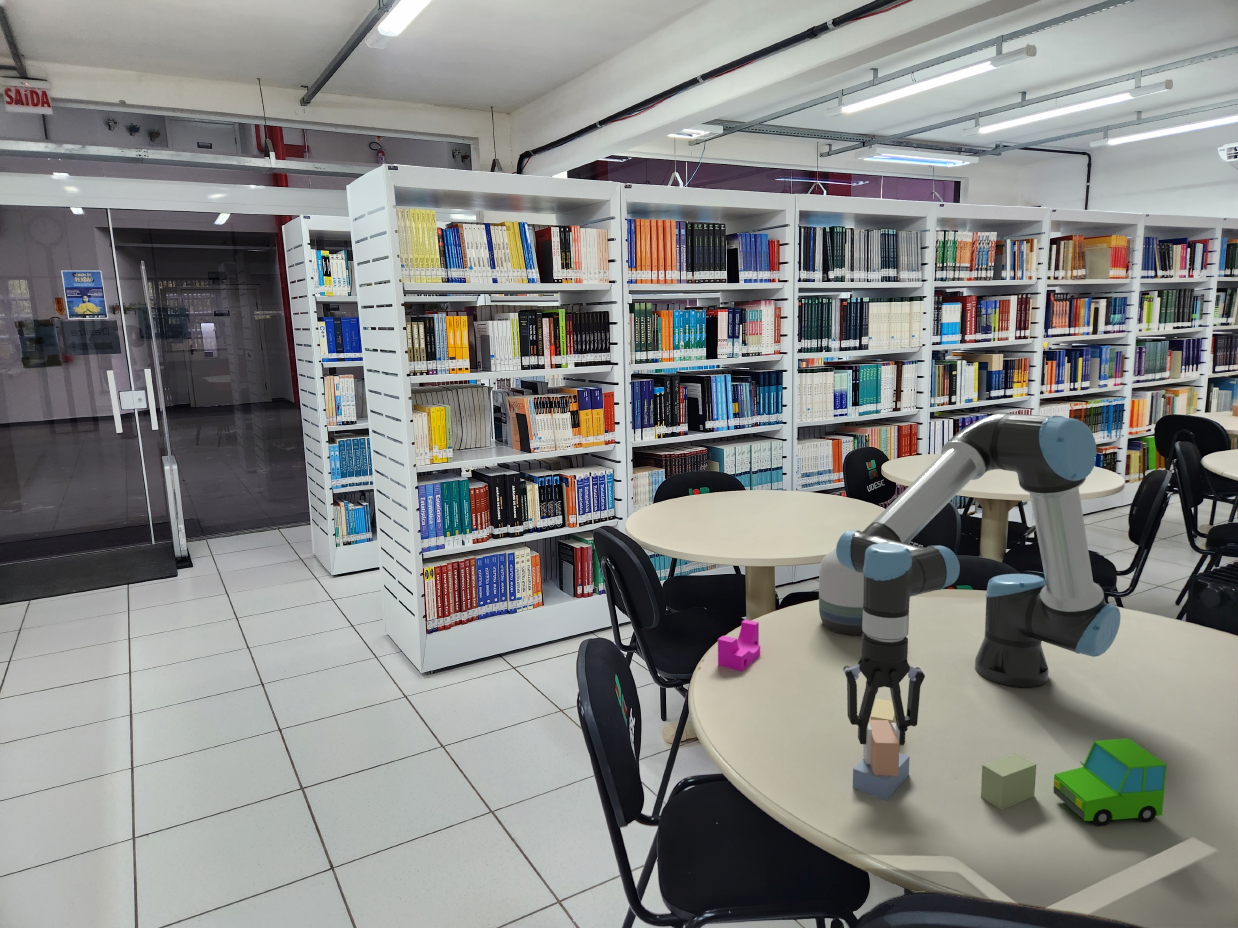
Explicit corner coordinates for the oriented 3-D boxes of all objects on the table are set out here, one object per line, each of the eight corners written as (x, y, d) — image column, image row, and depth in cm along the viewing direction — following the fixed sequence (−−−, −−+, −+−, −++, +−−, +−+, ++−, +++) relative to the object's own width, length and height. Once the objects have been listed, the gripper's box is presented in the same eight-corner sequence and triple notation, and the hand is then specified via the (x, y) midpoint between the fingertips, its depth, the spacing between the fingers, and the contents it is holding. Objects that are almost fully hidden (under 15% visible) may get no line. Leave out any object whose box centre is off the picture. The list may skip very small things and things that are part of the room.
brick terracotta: (864, 750, 139) (865, 719, 138) (886, 750, 139) (887, 720, 138) (874, 774, 131) (875, 742, 130) (898, 775, 131) (899, 743, 130)
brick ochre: (875, 726, 155) (876, 698, 154) (896, 729, 153) (897, 701, 152) (870, 745, 148) (870, 716, 147) (892, 749, 146) (892, 720, 145)
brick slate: (876, 764, 141) (877, 744, 141) (908, 776, 137) (909, 755, 137) (852, 789, 134) (853, 768, 133) (886, 802, 130) (886, 780, 129)
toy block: (741, 674, 180) (741, 644, 179) (718, 668, 184) (717, 639, 183) (767, 652, 192) (767, 624, 191) (745, 647, 196) (745, 619, 195)
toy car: (1046, 795, 130) (1049, 740, 129) (1119, 789, 131) (1123, 735, 130) (1087, 832, 120) (1091, 774, 118) (1166, 826, 121) (1171, 767, 120)
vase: (815, 616, 215) (816, 533, 211) (877, 617, 213) (879, 534, 209) (822, 640, 199) (823, 550, 195) (890, 641, 196) (892, 551, 192)
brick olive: (1013, 784, 133) (1015, 752, 132) (1034, 796, 130) (1036, 764, 129) (980, 797, 130) (982, 764, 129) (1001, 809, 127) (1002, 776, 126)
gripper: (929, 626, 134) (924, 750, 138) (830, 625, 136) (827, 747, 139) (943, 643, 127) (937, 773, 130) (838, 641, 129) (835, 770, 132)
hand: (880, 760), depth 135 cm, fingers closed on brick terracotta, 4 cm apart
